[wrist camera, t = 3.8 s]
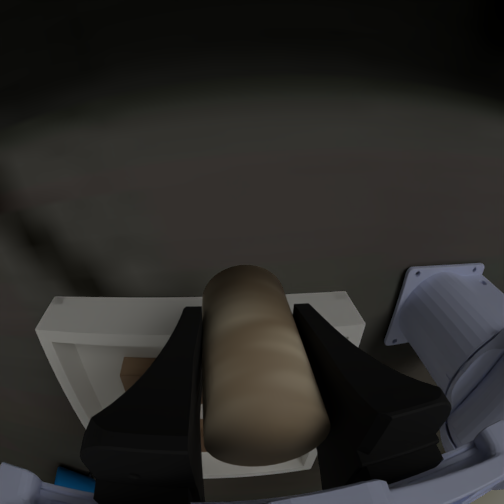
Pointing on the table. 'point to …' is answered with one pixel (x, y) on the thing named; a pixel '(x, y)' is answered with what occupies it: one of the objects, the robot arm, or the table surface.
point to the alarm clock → (74, 480)
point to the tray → (149, 351)
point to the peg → (256, 373)
